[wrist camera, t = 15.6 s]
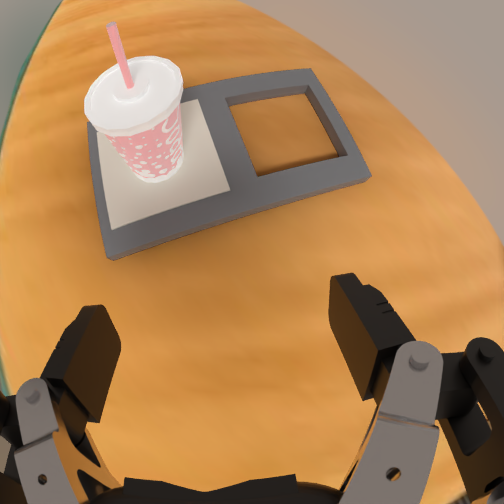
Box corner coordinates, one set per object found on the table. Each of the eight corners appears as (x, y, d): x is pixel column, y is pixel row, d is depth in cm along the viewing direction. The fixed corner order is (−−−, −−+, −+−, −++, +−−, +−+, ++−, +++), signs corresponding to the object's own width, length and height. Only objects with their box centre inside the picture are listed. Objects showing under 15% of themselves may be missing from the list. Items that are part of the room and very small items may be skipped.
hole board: (307, 76, 28) (311, 67, 26) (364, 181, 26) (372, 174, 24) (92, 130, 24) (86, 121, 22) (113, 260, 22) (105, 257, 20)
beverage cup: (157, 206, 21) (91, 84, 8) (109, 166, 22) (34, 51, 8) (207, 151, 23) (204, 9, 9) (157, 118, 23) (126, -11, 9)
